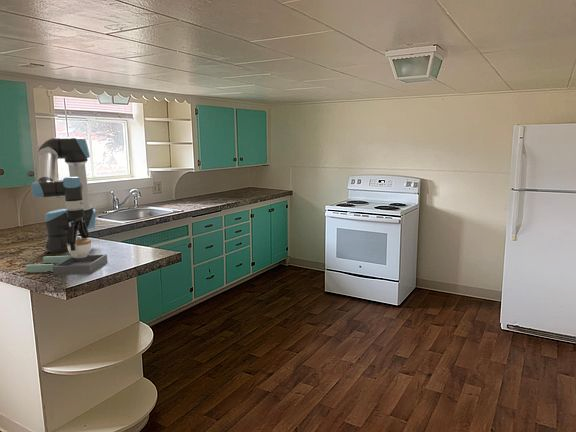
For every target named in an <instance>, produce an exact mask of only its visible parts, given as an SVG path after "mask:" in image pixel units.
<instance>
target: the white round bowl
mask: <svg viewBox="0 0 576 432" xmlns="http://www.w3.org/2000/svg"><path fill="white" fill-rule="evenodd" d="M75 243H76V244H77V252H78V257H74V258H84V257H87V255H90V252H91V251H92V240H91V239H90V238H87V239H81V238H80V237H76V242H75ZM67 248H68V251H67V252H68V253H69V256H71V248H70V244H68V243H67Z"/></svg>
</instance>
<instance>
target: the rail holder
mask: <svg viewBox="0 0 576 432" xmlns="http://www.w3.org/2000/svg"><path fill="white" fill-rule="evenodd" d="M70 257H71V255H55V256H53V255H52V256H50V255H49V256H48V255H47V256H43V257H42V263H41V264H39V263H38V264H26V265H25V271H26V272H30V273H48V272H47V271H51V272H52V273H53V266H55V265H56V264H59V263H61V262H62V261H64V260H66V259H68V258H70ZM43 263H55V264H43ZM26 272H25V273H26ZM51 272H50V273H51Z"/></svg>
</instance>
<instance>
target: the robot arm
mask: <svg viewBox="0 0 576 432" xmlns="http://www.w3.org/2000/svg"><path fill="white" fill-rule="evenodd" d="M37 158H38V167H37V168H38V169H37V170H38V171H37V180H36V181H33V182H31V185H30V187H31V194H32V197H33V198H50V197H64V198H65V208H61V209H55V210H51V211H48V212H46V213H45V215H44V219H45V221H44V222H45V229H46V235H47V240H46V244H45V253H48V252H50V253H51V254H52V253H53V254H57V253H65V252H68V248H67V243H68V244H70V248H71V255H70V257H78V252H77V244H76V243H75V242H76V240H77V234H78V233H79V234H80V237H81V238H80V239H90V234H89V230H92V229H94V228H96V218H97V217H96V215H97V213H96V212H97V211H96V208H94V207H93V205H91V203H90V196H89V187H88V186H89V185H88V179H87V169H86V163H87V162H88V159H89V158H91V154H90V150H89V147H88V142H87V139H86V138H85V137H83V136H81V137H80V136H66V137H65V136H63V137H58V136H57V137H52V138H49V139H47V140H45V141H44V142H43V143H42V144H41V145H40V146H39V148H38V150H37ZM58 159H59V160H60V159H63V160H64V163H66V164H67V165H68V173H69V176H68V177H63V180H56V162H57V160H58ZM50 253H49V254H50Z"/></svg>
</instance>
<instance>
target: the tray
mask: <svg viewBox="0 0 576 432" xmlns="http://www.w3.org/2000/svg"><path fill="white" fill-rule="evenodd" d="M107 255H108V254H106V253H105V254H88V255H87V257H84V258H74V257H71V256H70V258H68V259H66V260H64V261H62V262H61V263H56V264H54V265H55V266H53V272H52V273H53V276H67V275H90V274H92V273H93V272H95V271H96V270H98V269H99V268H102V266H104V265H106V264H107V263H108V256H107Z"/></svg>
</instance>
